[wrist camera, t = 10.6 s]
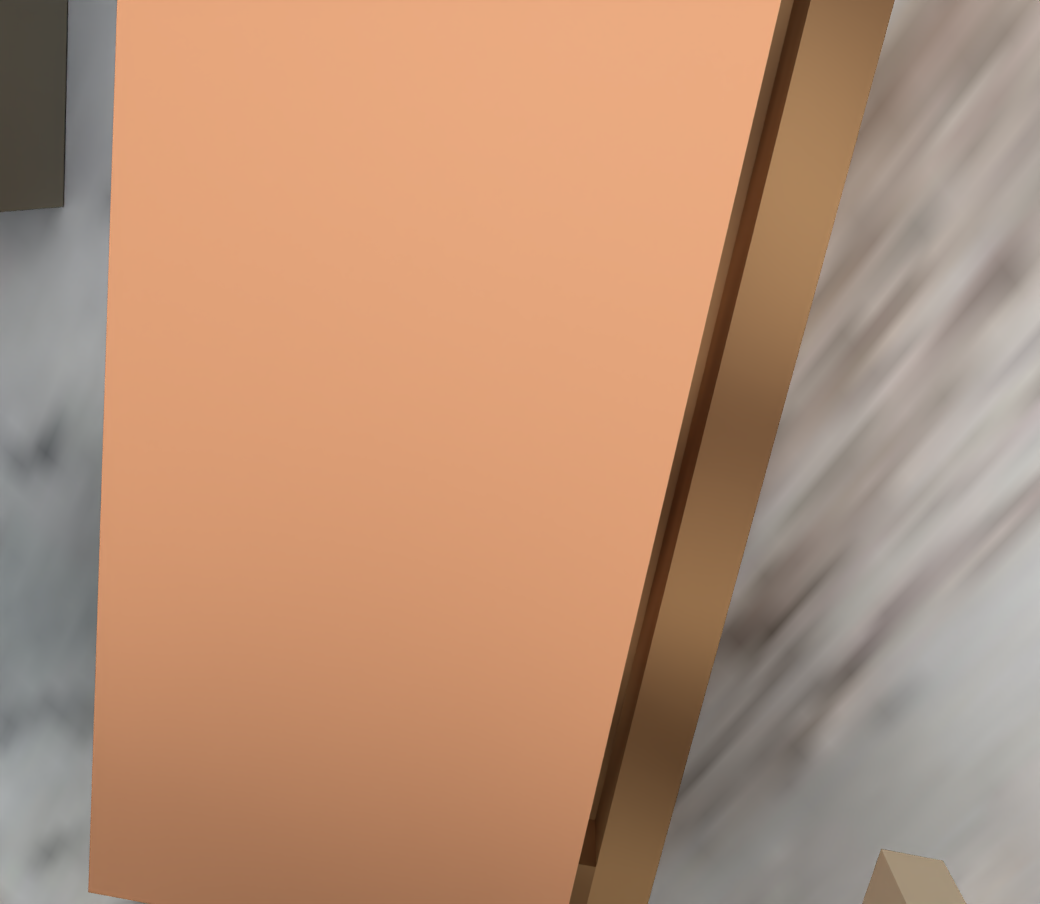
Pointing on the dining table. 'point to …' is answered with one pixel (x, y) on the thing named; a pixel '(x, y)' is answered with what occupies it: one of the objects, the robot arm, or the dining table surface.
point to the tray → (730, 424)
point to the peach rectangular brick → (392, 427)
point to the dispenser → (32, 103)
